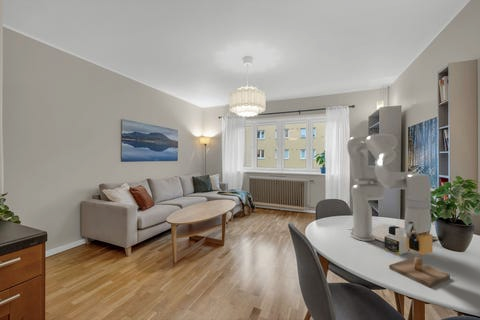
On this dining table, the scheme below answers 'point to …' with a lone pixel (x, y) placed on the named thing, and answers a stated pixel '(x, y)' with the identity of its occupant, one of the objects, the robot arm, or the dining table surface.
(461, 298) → the dining table surface
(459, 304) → the dining table surface
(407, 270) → the walnut board
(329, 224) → the dining table surface
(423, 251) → the plain orange cube
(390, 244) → the medicine bottle
